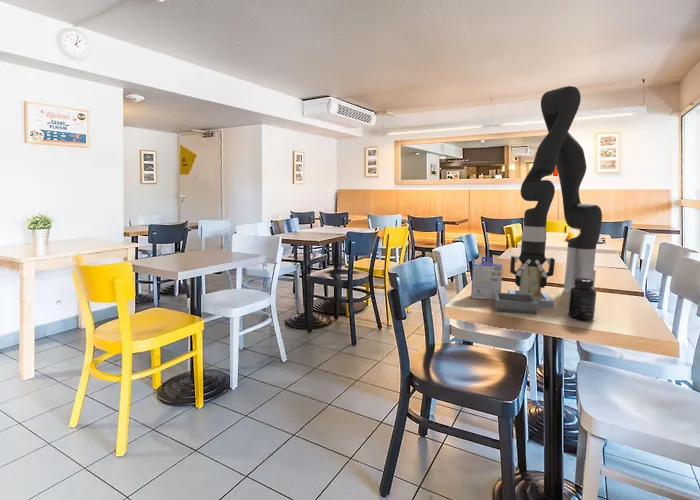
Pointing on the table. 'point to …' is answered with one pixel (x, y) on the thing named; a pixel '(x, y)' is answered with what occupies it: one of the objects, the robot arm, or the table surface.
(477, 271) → the ink cartridge box
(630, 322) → the table surface
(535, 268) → the skincare box
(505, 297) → the parts tray
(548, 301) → the socket block
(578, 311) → the supplement bottle
